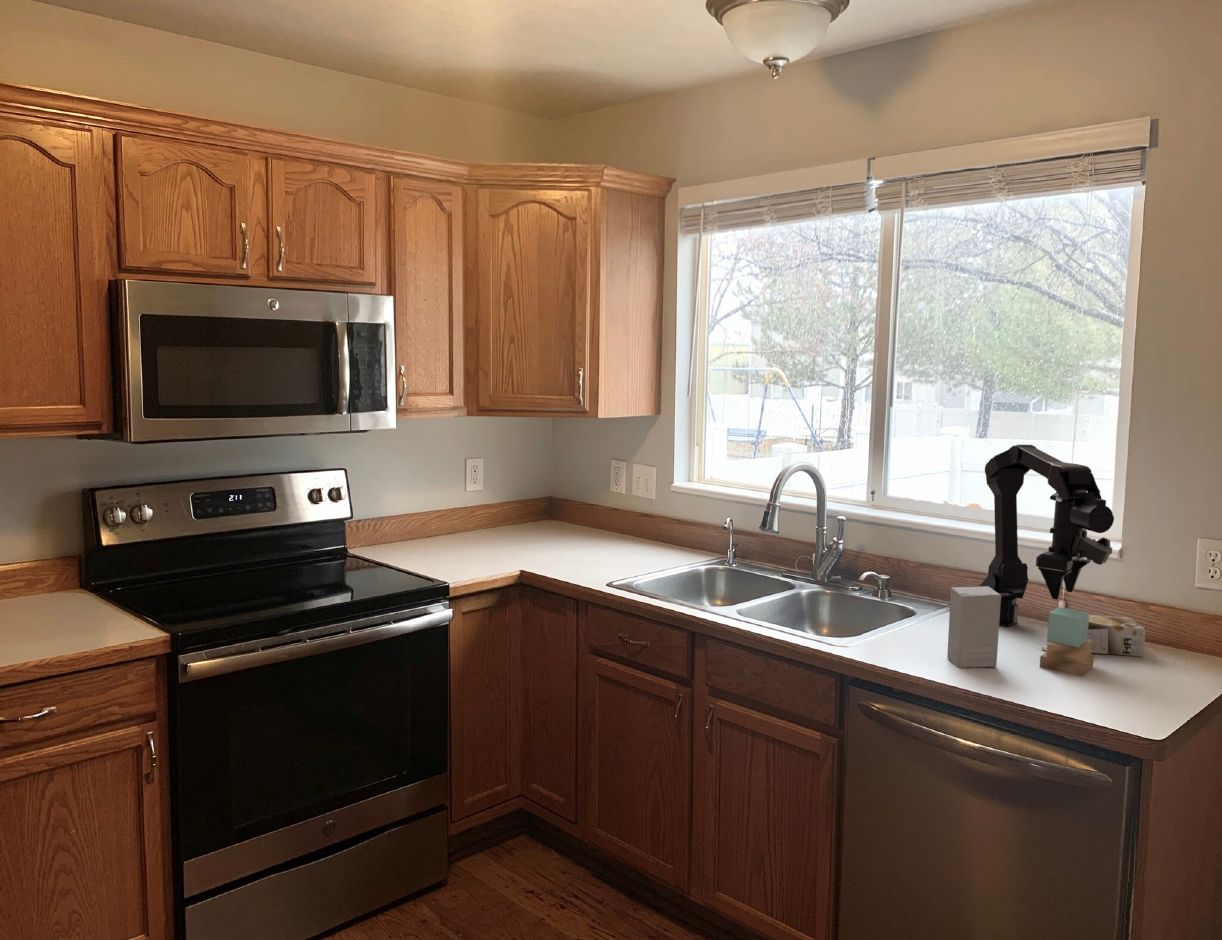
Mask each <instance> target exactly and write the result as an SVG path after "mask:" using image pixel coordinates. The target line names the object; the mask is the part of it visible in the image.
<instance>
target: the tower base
mask: <svg viewBox="0 0 1222 940" xmlns="http://www.w3.org/2000/svg"><path fill="white" fill-rule="evenodd" d="M1046 656H1047V651H1046V652H1044V653H1043V654H1041V655H1040V656H1039V657H1040V659H1039V668H1041V669H1043V670H1044V669H1046V670H1049V671H1052V672H1053V671H1054V672H1058V673H1063V674H1067V675H1071V676H1076V677H1080V678H1082V677H1083V676H1085V674H1086V675H1087V673H1089V671H1090V670H1092V669H1093V668H1094V661H1095V660H1094V659H1095V655H1091V662H1090V665H1087V664H1081V663H1074V662H1067V661H1060V660H1053V659H1046Z"/></svg>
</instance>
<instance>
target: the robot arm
mask: <svg viewBox="0 0 1222 940" xmlns="http://www.w3.org/2000/svg"><path fill="white" fill-rule="evenodd" d="M1030 471H1033V472H1035V473H1036V474H1039V475H1041V476H1042V477H1043V478H1045V479H1047V484H1048V485H1049V487H1050V488H1052V489H1053V490H1054V491H1055V493H1053V494H1052V495H1050V497H1049V499H1050V500H1051V501H1054V502H1055V503H1054V512H1053V513H1054V516H1053V517H1054V518H1053V524H1052V525H1053V526H1052V527H1050V528H1049V533H1050V534H1052V537H1051V538H1052V540H1051V541H1052V542H1051V546H1048V550H1047V551H1044V552H1042V553H1040V554H1039V555H1038V556H1036V557H1035V558H1036V559H1035V566H1036V567H1038V570H1039V571H1040V573H1041V574H1042V577H1043V579H1044V582H1045V584H1046V587H1047V589H1048V591H1049V594H1050V596H1051V598H1052V599H1053V600H1056V601H1057V600H1059V597H1060V593H1061V591H1062V587H1063V583H1064V586H1065V590H1066V592H1068V593H1073V592H1074V589H1075V587H1076V584H1077V581H1078V579H1079V576H1080V574H1081V571H1082V569H1083V568H1084V567H1086V566H1087V565H1089V564H1090V563H1091V562H1093V563H1094V564H1097V565H1100V566H1101V565H1103V564H1106V563H1107V561H1108V559H1109V557H1110V555H1112V553H1113V547H1111V540H1110V539H1109V538H1107V537H1104V536H1103V537H1101V538H1099V539H1097V540H1096V539H1094V538H1090V537H1088V531H1089V532H1093V533H1097V534H1103V533H1106V532H1107V531H1109V530H1110V529H1111V527H1112V526H1113V524H1114V520H1115V516H1114V513H1113V510H1112V509H1111V508H1110V507H1108V506H1107V500H1106V499H1104V498H1102V495H1101V490H1100V488H1099V487H1098V485H1097V482H1096V479H1095V477H1094V474H1093V472H1092V469H1091V468H1090V467H1089V466H1088V465H1083V464H1079V463H1069V462H1064V461H1062V460H1060V459H1058V458H1056V457H1054V456H1052V455H1051V454H1049V453H1046V452H1045V451H1043V450H1041V449H1038V448H1037V446H1036V445H1033V444H1015V445H1012V446H1011V447H1009V448H1008V449H1007V450H1005V451H1003V452H1000V453H998V454H995V455H994V456H993V457H992V458H990V459H989V460H988V462H986V464H985V466H984V473H985V479H986V485H987V486H988V488H989V489H990V491H991V492H992V495H993V496H994V497H993V499H994V500H993V502H994V505H993V506H994V509H993V510H994V545H995V547H994V548H995V553H994V554H995V556H994V557H993V559H991V562H990V563H989V565H988V571H987V572H988V573H987V576H986V578H985V579H984V580H983V581H982V582H981V583H980V585H978V587H987V586H988V587H990V588H992V589H993V590H994V591H996V592H997V593H999V594H1000V595H1001V603H1000V618H999V626H1002V627H1003V626H1004V627H1010V626H1012V625H1014V624H1016V623H1018V618H1019V617H1018V616H1019V615H1018V614H1019V604H1017V601H1018V600H1017V599H1024V596H1025V593H1026V589H1027V586H1028V582H1029V576H1028V565H1027V563H1025V562H1023V561H1022V560H1021V558H1020V556H1019V546H1018V545H1019V544H1018V543H1019V542H1018V541H1019V540H1018V538H1019V537H1018V500H1017V499H1018V497H1017V495H1018V493H1019V492H1020V490H1021V489H1022V486H1023V485H1024V484H1025V483H1024V482H1025V475H1026V474H1027V473H1029V472H1030ZM1085 558H1086V559H1085Z"/></svg>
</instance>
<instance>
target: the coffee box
mask: <svg viewBox="0 0 1222 940" xmlns="http://www.w3.org/2000/svg"><path fill="white" fill-rule="evenodd" d="M1087 639H1089V640H1091V650H1092V651H1091V654H1098V655H1099V654H1103V655H1115V656H1117V655H1119V656H1133V657H1135V656H1136V657H1144V653H1145V652H1144V651H1145V639H1146V628H1144V627H1143V626H1142V625H1141V624H1139V623H1138V622H1136V621H1135V620H1134V619H1132V618H1131V617H1129V616H1128V617H1127V616H1115V615H1114V616H1111V615H1093V614H1089V624H1088V635H1087Z"/></svg>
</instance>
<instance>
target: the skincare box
mask: <svg viewBox="0 0 1222 940" xmlns="http://www.w3.org/2000/svg"><path fill="white" fill-rule="evenodd" d="M949 599H950V602H949V619H948V620H949V621H948V635H947V636H948V641H947V653H946V654H947V659H948V660H949V661H950V662H951V663H952V664H953V665H955V666H956V667H957V668H959V669H960V668H961V669H962V668H963V669H965V668H996V667H997V663H998V647H999V635H1000V634H999V632H1000V625H999V618H1000V603H1001V595H1000V594H999V593H997V592H996V591H994V590H993V589H992V588H990V587H988V586H987V587H979V586H960V587H959V586H958V587H957V586H953V587H950V598H949Z"/></svg>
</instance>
